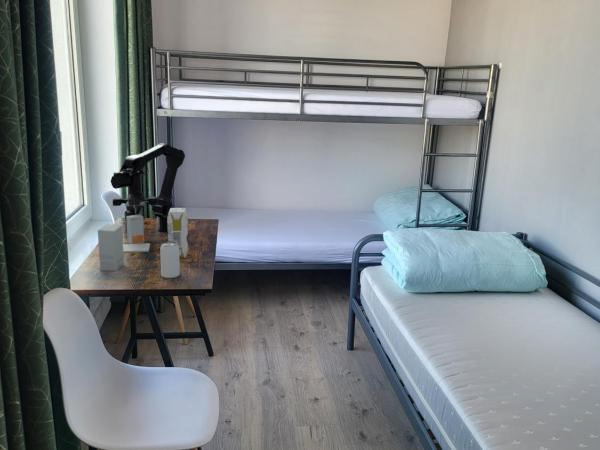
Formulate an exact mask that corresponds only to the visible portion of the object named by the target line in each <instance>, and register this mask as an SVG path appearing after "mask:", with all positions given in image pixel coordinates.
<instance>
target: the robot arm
mask: <svg viewBox="0 0 600 450" xmlns="http://www.w3.org/2000/svg"><path fill="white" fill-rule="evenodd" d="M161 155H163V156H164V157H165V162H166V170H165V173H164V176H163V180H162V184H161V187H160V192H159V195H158V196H148V198H146V197H145V196H146V195H145V193H143V188H142V186H143V185H142V176H143V175H146V173H145V172H144V171H143V170H142V169H144V168H145V167H146V165H147V164H148V163H149V162H151V161H154V159H156V158H158V157H160V156H161ZM185 158H186V153H185V152H184V150H183V149H178V148H176V147H174V146H171V145H170V144H169V143H161V142H159V143H158V144H157V145H155V146H153V147H152V148H151V147H150V148H149V149H148V150H145V151H143V152H142V153H138V154H132V155H129V156H126V157H125V158H124V162H123V164H122V166H121V168H120V169H119V171H117V172H116V171H115V172H113V175H112V177H111V179H110V184H111V187H112V188H113V189H116V190H117V189H122V188H127V192H128V193H127V198H124V197H122V196H118V197H117V196H115V197H113V198H112V206H113V207H120V206H122V205H123V204H126V205H127V207H129V208H130V209H131V211H132V213H133V215H136V209H135V205H137V215H139V213H140V212H141V210H142V208H144V207H145V205H146V204H148V205H149V206H151V210H152V212H153V214H154V217H156V218H158V225H159V226H158V228H157V229H158V232H168V223H167V218H168V213H169V211H170V208H172V205H173V204H172V200H171V197H172V196H171V195H172V191H173V188H174V184H175V180H176V177H177V172H178V169H179V168H180V167H181V166H182V165H183V163H184V161H185ZM140 214H141V213H140Z"/></svg>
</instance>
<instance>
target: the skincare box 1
mask: <svg viewBox="0 0 600 450" xmlns="http://www.w3.org/2000/svg"><path fill="white" fill-rule="evenodd" d="M123 235H124V234H123V224H109V223H107V224H105V225H103V226H101V227H100V228H99V229H97V238H98V256H99V259H98V260H99V270H100V271H103V272H104V271H106V272H107V271H109V272H117V271H118V270H120V268H122V266H124V264H125V254H124V253H125V252H123V244H124V236H123Z"/></svg>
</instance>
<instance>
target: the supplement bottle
mask: <svg viewBox="0 0 600 450" xmlns="http://www.w3.org/2000/svg"><path fill="white" fill-rule="evenodd" d="M125 206H126V207H125V208H126V210H125V211H124V228H125V231H126V232H127V218H126V216H132V215H133V213H132V211H131V209H130V208H129V207H127V204H126V205H125ZM135 209H136V215H137V205H135ZM139 215H141V213H139Z"/></svg>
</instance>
